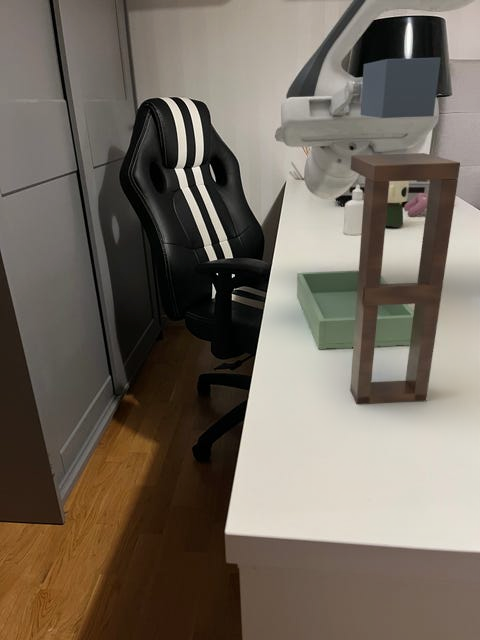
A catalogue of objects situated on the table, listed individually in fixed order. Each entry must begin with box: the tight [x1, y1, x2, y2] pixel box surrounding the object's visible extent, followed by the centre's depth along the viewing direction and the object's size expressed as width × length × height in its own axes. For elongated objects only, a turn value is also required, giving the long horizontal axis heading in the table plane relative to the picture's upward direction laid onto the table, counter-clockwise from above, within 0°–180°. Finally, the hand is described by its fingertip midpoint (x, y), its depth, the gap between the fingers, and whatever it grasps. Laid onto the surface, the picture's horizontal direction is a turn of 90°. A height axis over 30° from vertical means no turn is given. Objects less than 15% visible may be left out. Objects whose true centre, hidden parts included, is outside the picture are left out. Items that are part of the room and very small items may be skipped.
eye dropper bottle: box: [342, 185, 364, 236], centre depth 124 cm, size 4×6×12 cm
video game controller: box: [403, 193, 428, 218], centre depth 144 cm, size 10×5×7 cm, turn 170°
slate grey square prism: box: [353, 57, 442, 118], centre depth 54 cm, size 5×16×5 cm, turn 2°
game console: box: [335, 174, 430, 208], centre depth 162 cm, size 21×32×8 cm, turn 79°
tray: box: [296, 269, 414, 350], centre depth 78 cm, size 14×21×4 cm, turn 2°
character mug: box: [385, 181, 409, 228], centre depth 130 cm, size 11×7×13 cm, turn 157°
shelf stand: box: [349, 152, 461, 405], centre depth 55 cm, size 8×9×26 cm
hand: (373, 85), depth 58 cm, fingers closed on slate grey square prism, 3 cm apart
